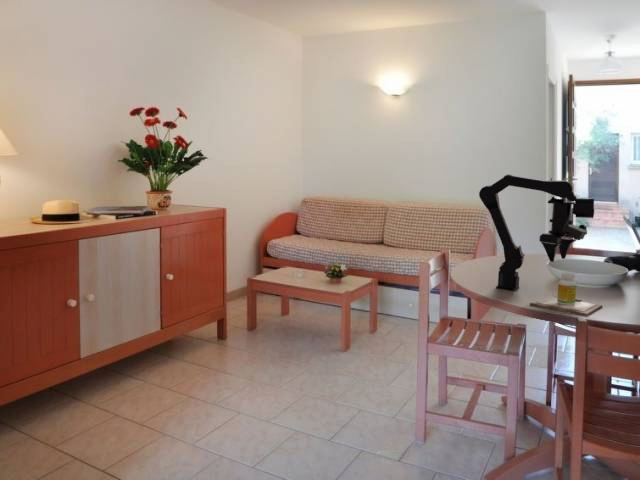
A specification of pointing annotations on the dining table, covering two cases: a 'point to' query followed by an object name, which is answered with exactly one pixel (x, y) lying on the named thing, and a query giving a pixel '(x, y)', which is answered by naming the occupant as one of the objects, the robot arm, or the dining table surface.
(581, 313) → the clipboard
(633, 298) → the dining table surface
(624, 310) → the dining table surface
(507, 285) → the robot arm
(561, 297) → the supplement bottle
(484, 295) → the dining table surface
